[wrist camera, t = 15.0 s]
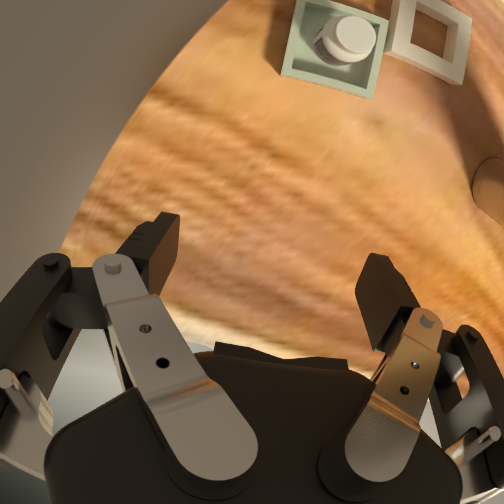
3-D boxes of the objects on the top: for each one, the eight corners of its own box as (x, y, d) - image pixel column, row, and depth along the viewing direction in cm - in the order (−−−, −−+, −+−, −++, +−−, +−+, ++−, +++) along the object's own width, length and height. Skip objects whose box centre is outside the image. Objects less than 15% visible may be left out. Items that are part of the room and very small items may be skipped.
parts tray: (380, 24, 27) (388, 20, 25) (364, 98, 33) (372, 99, 30) (296, -1, 27) (298, -8, 24) (280, 75, 32) (281, 74, 30)
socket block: (460, 21, 24) (472, 19, 22) (450, 84, 30) (462, 85, 27) (394, -13, 24) (402, -19, 21) (382, 53, 29) (391, 50, 27)
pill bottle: (354, 69, 31) (382, 64, 22) (311, 63, 31) (326, 54, 22) (356, 31, 28) (383, 15, 20) (313, 24, 28) (328, 4, 20)
